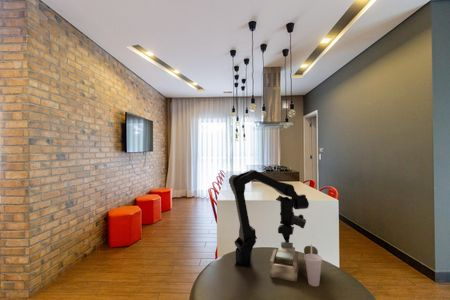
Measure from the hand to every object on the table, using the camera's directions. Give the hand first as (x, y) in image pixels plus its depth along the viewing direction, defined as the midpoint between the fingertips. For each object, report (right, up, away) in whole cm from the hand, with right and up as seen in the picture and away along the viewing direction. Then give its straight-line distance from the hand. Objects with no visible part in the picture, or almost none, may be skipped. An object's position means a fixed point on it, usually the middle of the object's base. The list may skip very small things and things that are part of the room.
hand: (287, 243), depth 102 cm
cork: (+5, -6, -16) cm, 18 cm away
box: (-5, -6, -13) cm, 15 cm away
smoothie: (+3, -6, -22) cm, 23 cm away
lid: (-3, -1, -7) cm, 8 cm away
